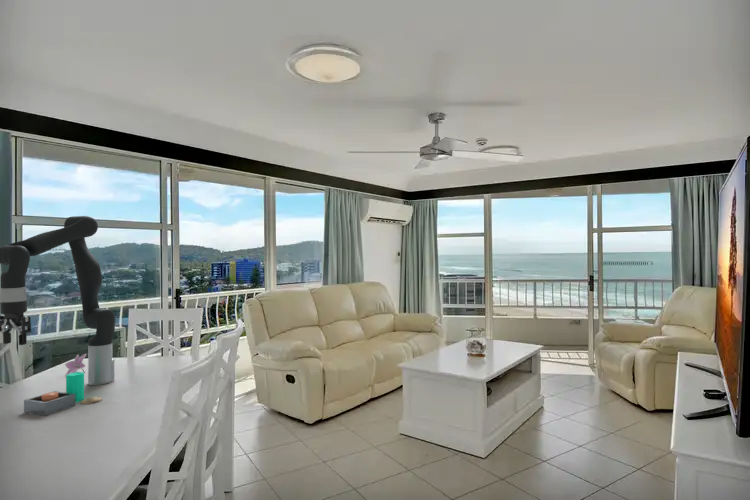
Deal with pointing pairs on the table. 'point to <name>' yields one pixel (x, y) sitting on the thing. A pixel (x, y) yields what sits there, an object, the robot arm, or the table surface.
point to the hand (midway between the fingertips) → (14, 344)
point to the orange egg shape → (49, 396)
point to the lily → (75, 364)
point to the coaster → (91, 400)
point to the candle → (75, 385)
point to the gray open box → (49, 404)
